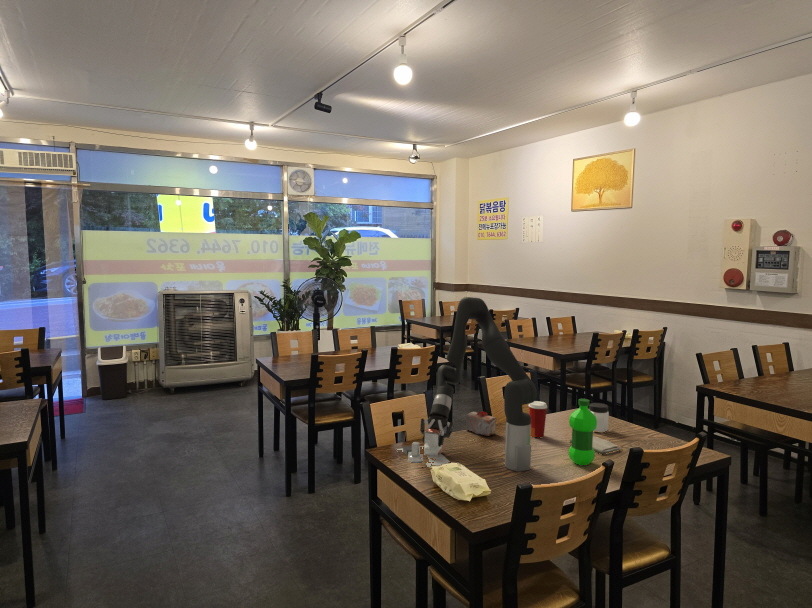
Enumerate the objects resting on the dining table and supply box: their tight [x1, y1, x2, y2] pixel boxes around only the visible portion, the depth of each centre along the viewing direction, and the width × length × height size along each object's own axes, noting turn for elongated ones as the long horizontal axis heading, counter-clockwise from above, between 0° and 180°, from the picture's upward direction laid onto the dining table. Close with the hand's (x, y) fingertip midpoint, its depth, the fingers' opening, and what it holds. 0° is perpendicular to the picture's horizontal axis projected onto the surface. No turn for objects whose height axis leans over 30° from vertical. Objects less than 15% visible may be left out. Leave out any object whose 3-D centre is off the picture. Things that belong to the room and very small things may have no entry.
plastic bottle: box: [568, 398, 597, 466], centre depth 206 cm, size 10×10×25 cm
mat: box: [396, 445, 451, 468], centre depth 211 cm, size 22×16×1 cm
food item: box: [465, 410, 498, 437], centre depth 242 cm, size 14×8×10 cm, turn 48°
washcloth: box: [569, 435, 621, 455], centre depth 226 cm, size 12×18×3 cm, turn 32°
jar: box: [588, 402, 610, 433], centre depth 248 cm, size 9×8×12 cm
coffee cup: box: [527, 400, 548, 439], centre depth 238 cm, size 8×8×15 cm
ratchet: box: [402, 441, 423, 463], centre depth 209 cm, size 14×6×7 cm, turn 19°
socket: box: [423, 428, 443, 457], centre depth 214 cm, size 6×6×10 cm
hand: (432, 444), depth 212 cm, fingers closed on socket, 5 cm apart
